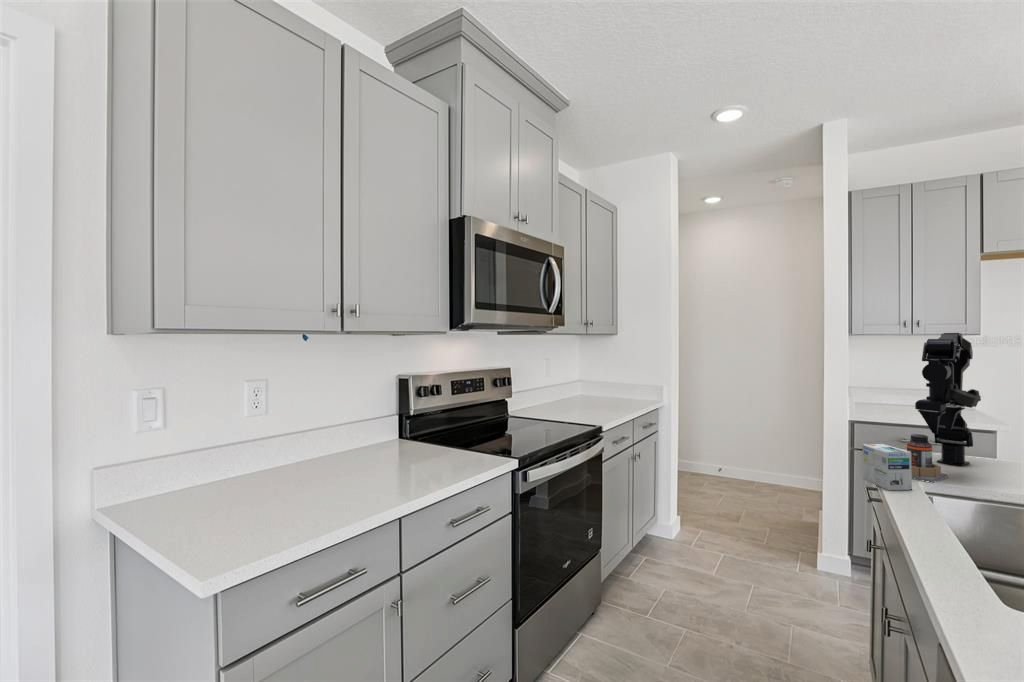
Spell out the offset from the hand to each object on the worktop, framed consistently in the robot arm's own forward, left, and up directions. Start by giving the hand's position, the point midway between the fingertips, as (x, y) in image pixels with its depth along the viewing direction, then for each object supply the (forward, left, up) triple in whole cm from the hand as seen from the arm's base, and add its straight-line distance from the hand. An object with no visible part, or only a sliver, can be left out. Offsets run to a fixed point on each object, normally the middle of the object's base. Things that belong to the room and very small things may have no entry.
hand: (942, 431), depth 151 cm
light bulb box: (+24, -4, -13) cm, 28 cm away
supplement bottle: (+7, -3, -12) cm, 14 cm away
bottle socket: (+7, -3, -13) cm, 15 cm away
